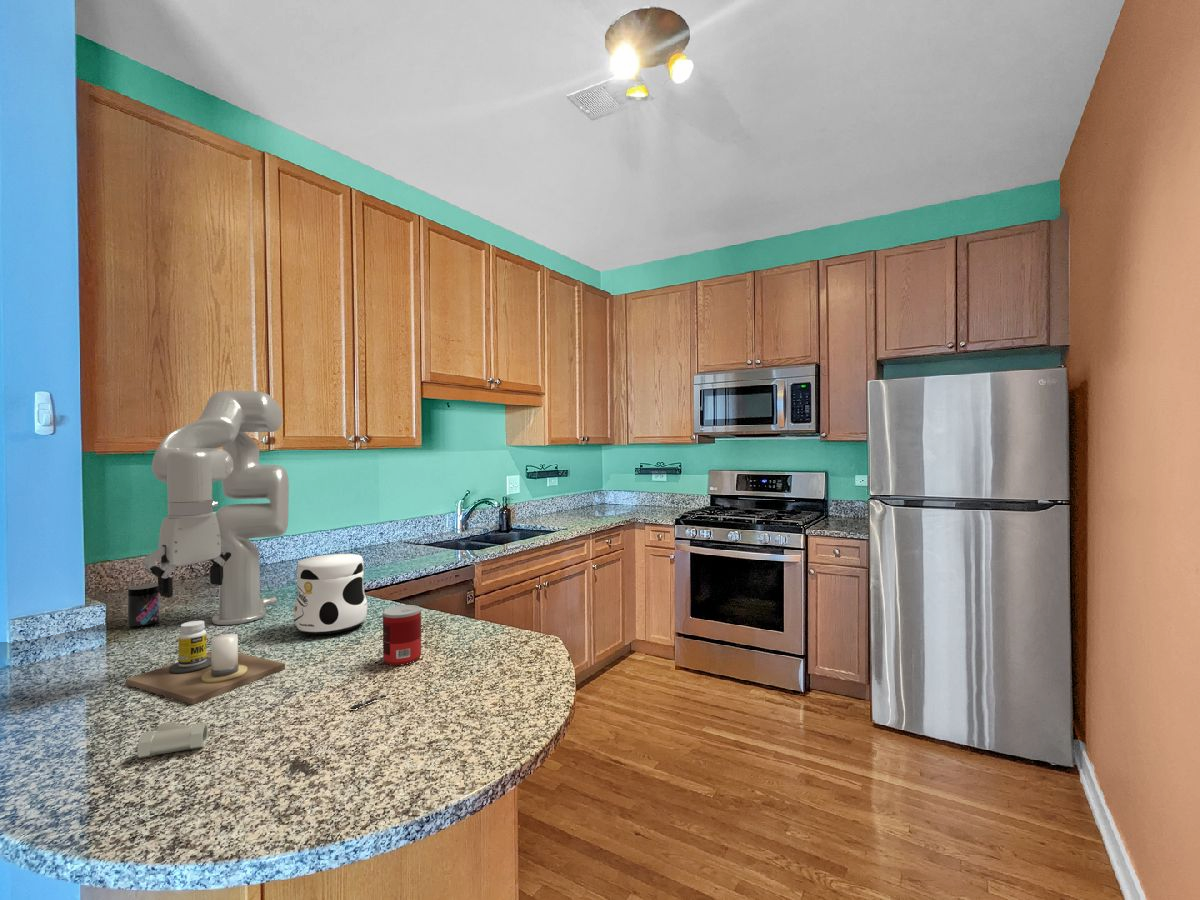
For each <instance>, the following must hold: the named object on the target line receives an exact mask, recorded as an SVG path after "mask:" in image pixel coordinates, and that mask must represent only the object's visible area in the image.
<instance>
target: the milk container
mask: <svg viewBox="0 0 1200 900" xmlns="http://www.w3.org/2000/svg"><path fill="white" fill-rule="evenodd" d="M296 576H297V579H296V585H297V586H296V587H297V588H296V591H297V595H296V601H295V604H294V607H293V615H292V616H293V622H294V626H295V628H296V630H298V632H300V633H303V634H305V635H306V634H307V635H318V636H319V635H330V634H337V633H340V632H346V631H349V630H351V629H355V628H358V626H359V625H361V624H362V623H364V621H365V620H366V617H367V615H368V601H367V597H366V593H365V589H364V576H365V574H364V558H363V556H362V555H360V554H355V553H353V554H352V553H334V554H324V555H317V556H312V557H307V558H303V559H300V560H298V561H297V568H296Z"/></svg>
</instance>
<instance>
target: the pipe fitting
mask: <svg viewBox="0 0 1200 900" xmlns="http://www.w3.org/2000/svg"><path fill="white" fill-rule="evenodd" d="M208 725H209V724H208V723H207V722H204V721H203V722H198V723H194V724H193V725H186V724H183V723H176V722H173V721H167V722H163V723H162V724H160V725H159V726H157V728H156V729H155V730H149V731H144V732H142V733H141V735H140V737H139V740H138V744H137V757H138V758H139V759H141V758H142V759H147V758H146V757H148V758H152V756H153V757H155V756H159V755H165V754H170V753H175V752H181V751H187V750H197V749H203V748H205V747H206V745H207V741H208V736H209V726H208Z"/></svg>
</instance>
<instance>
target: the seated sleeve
mask: <svg viewBox="0 0 1200 900" xmlns="http://www.w3.org/2000/svg"><path fill="white" fill-rule="evenodd" d="M238 636H239V635H238V634H237V633H225V634H220V635H216V636H214V637H212V638H211V639H210V644H211V646H210V647H211V648H210V652H211V676H213V677H222V676H227V675H231V674H234V673H236V672H237V671H238V670H239V664H238V653H239V649H238V648H239V647H238V645H239V644H238V643H239V642H238V639H239V637H238Z"/></svg>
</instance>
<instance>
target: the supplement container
mask: <svg viewBox="0 0 1200 900" xmlns="http://www.w3.org/2000/svg"><path fill="white" fill-rule="evenodd" d="M126 593H127V594H126V595H127V627H128V628H129V629H131V628H140V629H142V628H141V627H147V626H151V627H153V626H152V625H154V626H156V625H158V624H159V623H160V621H161V608H160V607H161V600H160V599H161V596H160V593H159V592H158V583H143V584H136V585H132V586H129V587H127V591H126ZM157 623H158V624H157ZM155 624H156V625H155ZM147 628H148V627H147Z"/></svg>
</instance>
